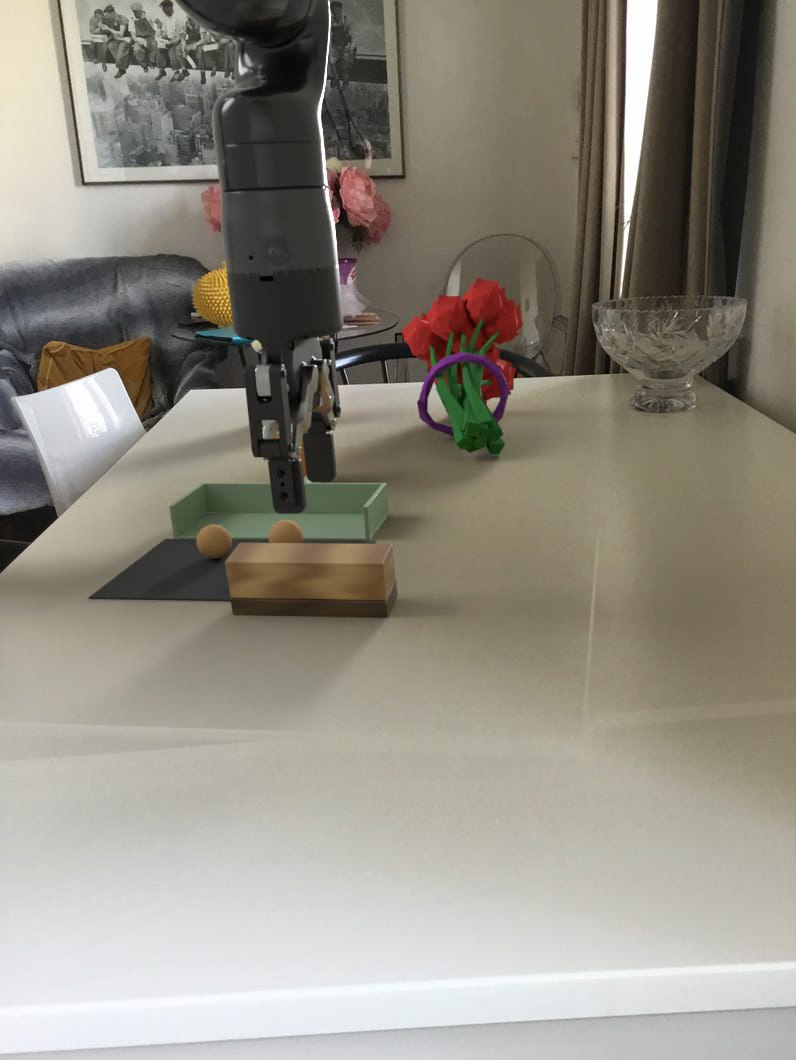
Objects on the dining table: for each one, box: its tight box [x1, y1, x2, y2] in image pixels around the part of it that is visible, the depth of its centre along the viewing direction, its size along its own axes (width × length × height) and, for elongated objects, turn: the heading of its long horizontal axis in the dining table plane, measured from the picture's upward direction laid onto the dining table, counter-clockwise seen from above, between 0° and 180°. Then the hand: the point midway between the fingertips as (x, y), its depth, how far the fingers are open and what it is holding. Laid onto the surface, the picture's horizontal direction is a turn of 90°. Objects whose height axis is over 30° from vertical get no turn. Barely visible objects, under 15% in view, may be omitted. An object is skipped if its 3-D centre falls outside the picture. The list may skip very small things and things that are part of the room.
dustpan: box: [168, 476, 389, 540], centre depth 104 cm, size 16×19×3 cm
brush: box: [225, 543, 398, 619], centre depth 80 cm, size 12×4×4 cm, turn 83°
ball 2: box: [269, 520, 304, 543], centre depth 92 cm, size 3×3×3 cm
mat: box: [88, 538, 376, 602], centre depth 90 cm, size 20×16×1 cm
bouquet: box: [401, 277, 524, 456], centre depth 135 cm, size 20×16×30 cm
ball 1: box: [196, 524, 232, 559], centre depth 92 cm, size 3×3×3 cm
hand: (307, 495), depth 77 cm, fingers open, 8 cm apart
